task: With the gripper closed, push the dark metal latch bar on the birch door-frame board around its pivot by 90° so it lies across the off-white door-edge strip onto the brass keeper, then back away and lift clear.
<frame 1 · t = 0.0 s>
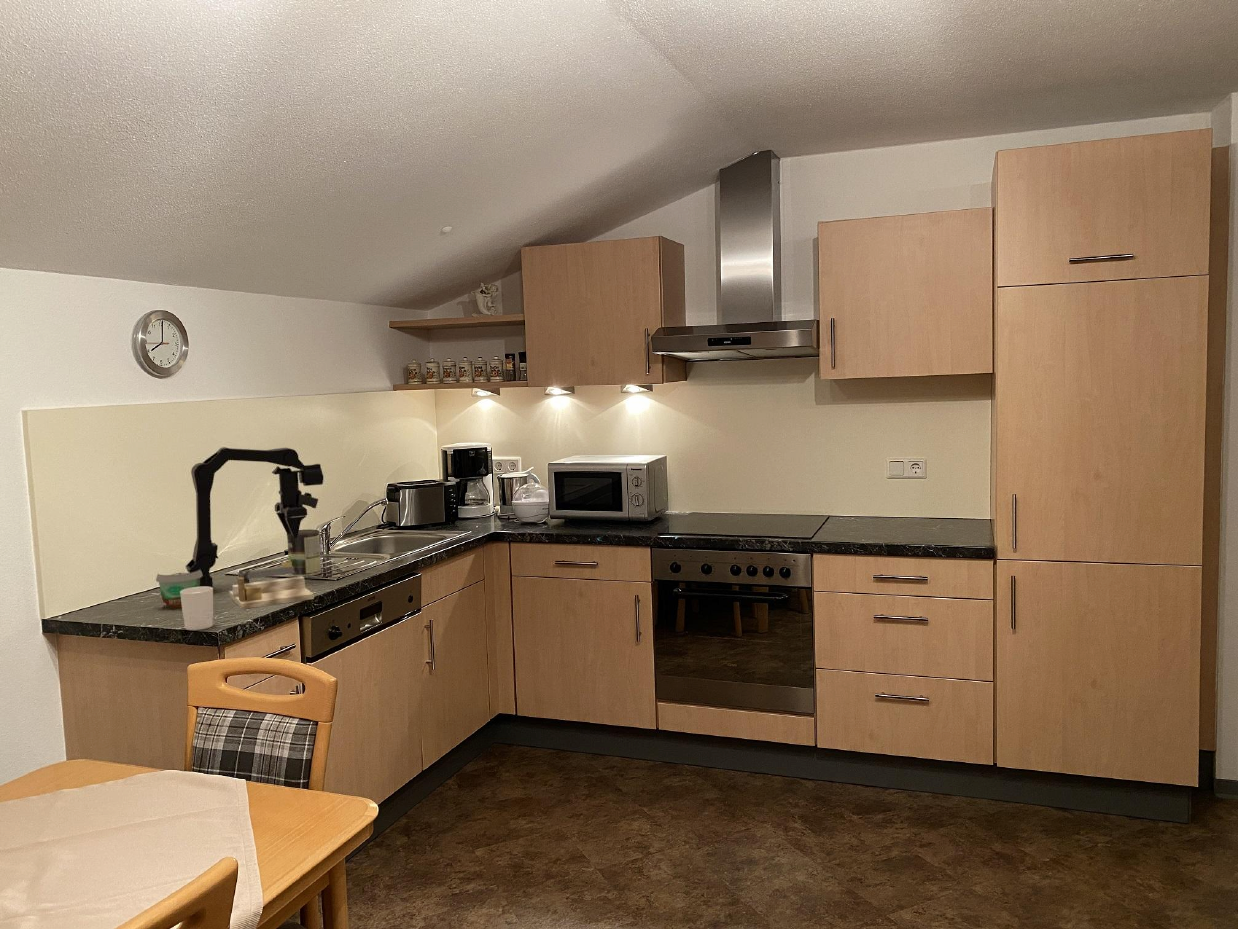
hand: (292, 535, 304), 15 cm above the table, tool pointing down, fingers open, 9 cm apart
white cup: (199, 628, 250), on the table
door frame: (271, 597, 283), on the table
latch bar: (266, 570, 287), point 7 cm above the table, hinge at 0.0°
food container: (181, 607, 274), on the table
coffee can: (305, 574, 317), on the table
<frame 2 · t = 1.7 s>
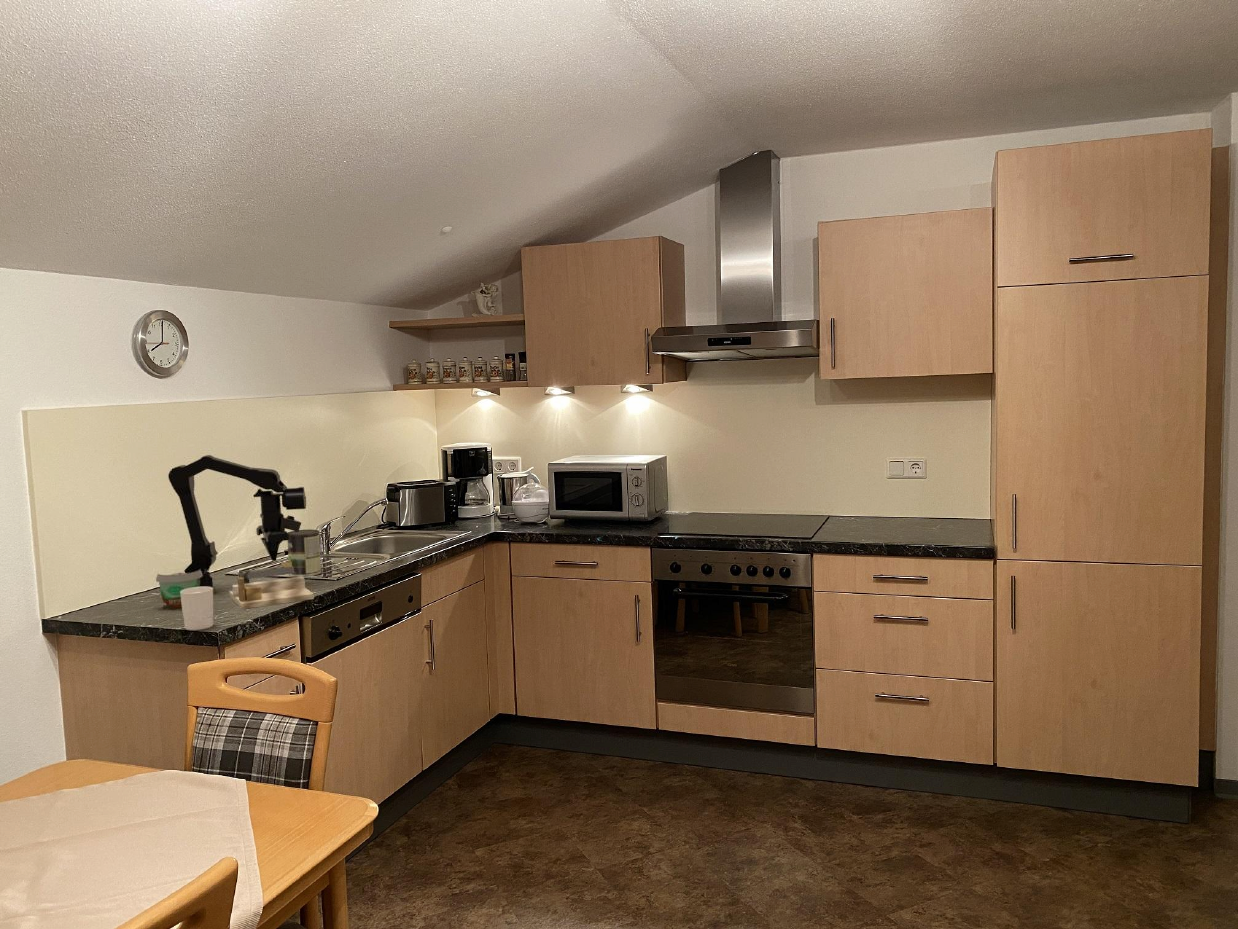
hand: (274, 560, 294), 9 cm above the table, tool pointing down, fingers closed
nothing on the table moved.
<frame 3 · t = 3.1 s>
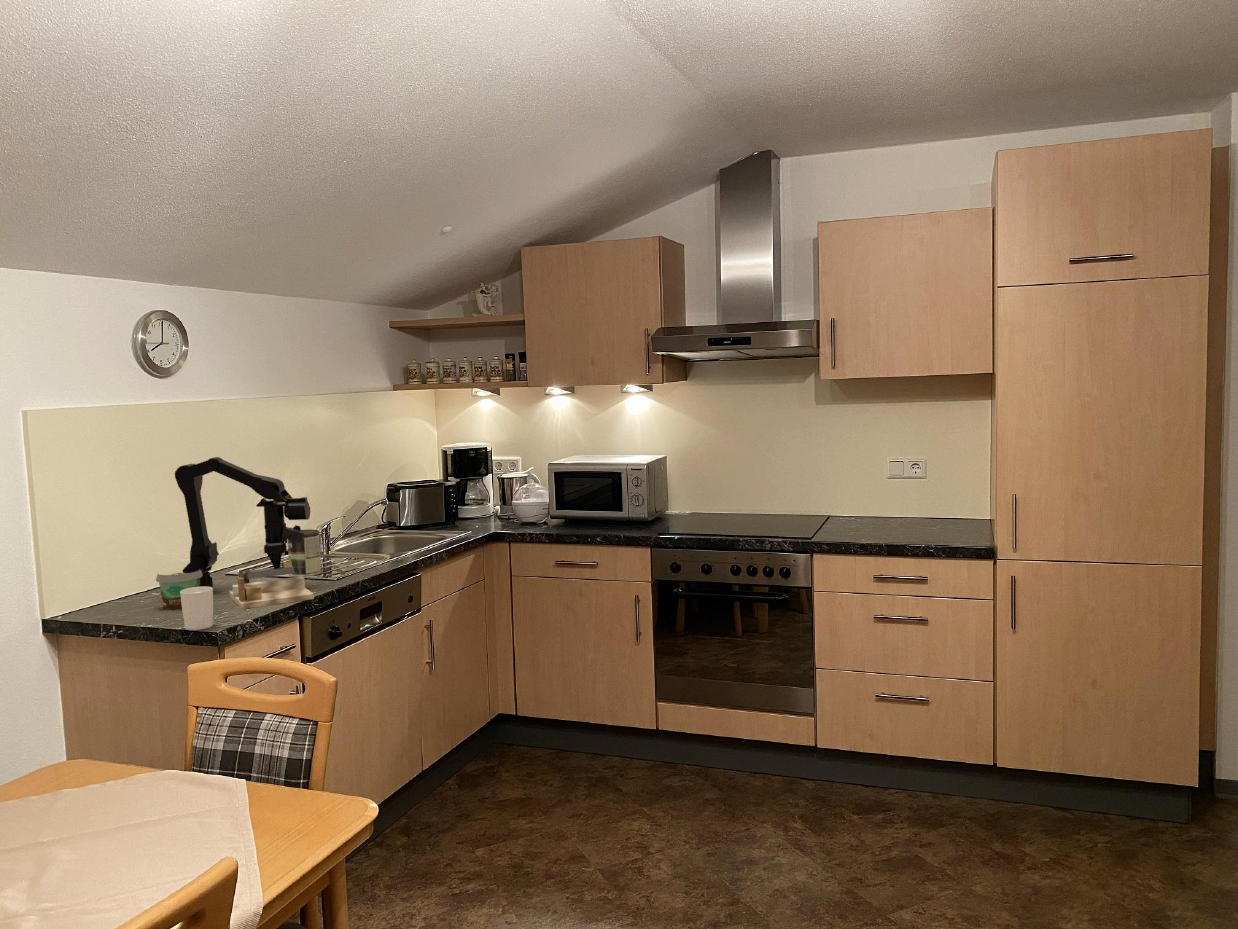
hand: (277, 570, 291), 6 cm above the table, tool pointing down, fingers closed
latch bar: (266, 570, 287), point 7 cm above the table, hinge at -0.4°, touching gripper
everything else where it was.
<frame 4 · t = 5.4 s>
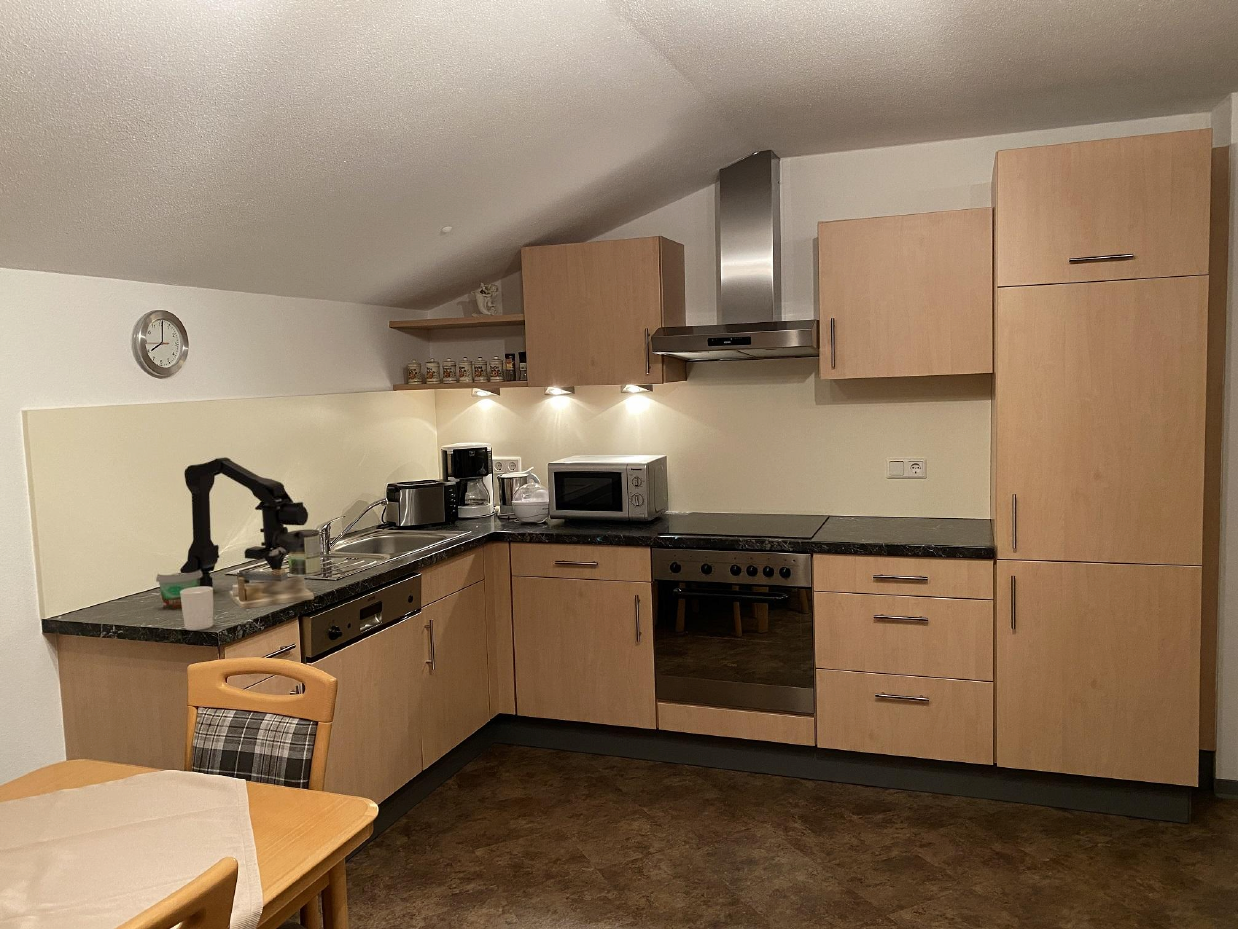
hand: (277, 576, 283), 6 cm above the table, tool pointing down, fingers closed
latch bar: (261, 574, 282), point 7 cm above the table, hinge at -49.2°, touching gripper
everything else where it was.
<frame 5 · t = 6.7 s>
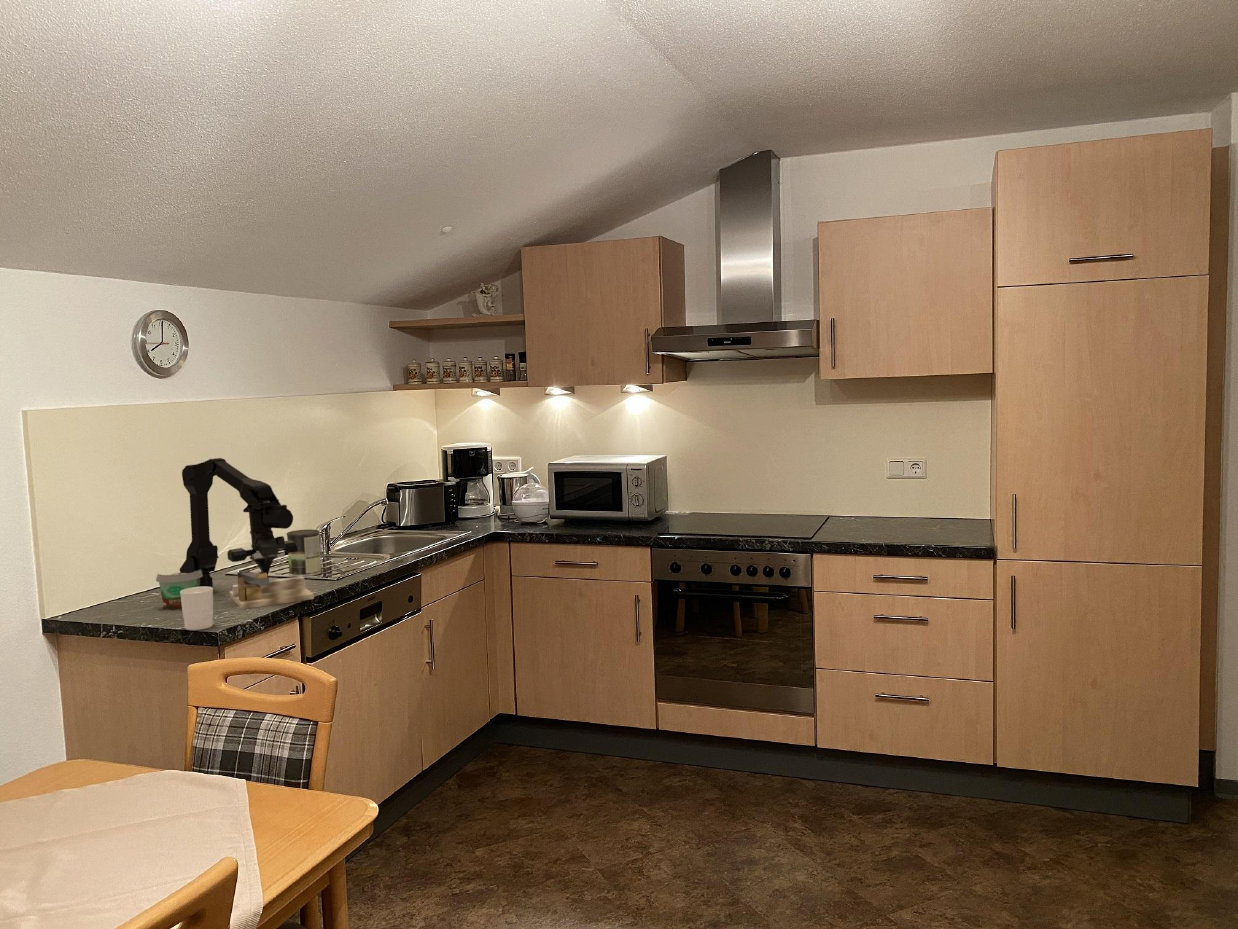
hand: (265, 579, 278), 6 cm above the table, tool pointing down, fingers closed
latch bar: (252, 576, 279), point 7 cm above the table, hinge at -78.2°, touching gripper
everything else where it was.
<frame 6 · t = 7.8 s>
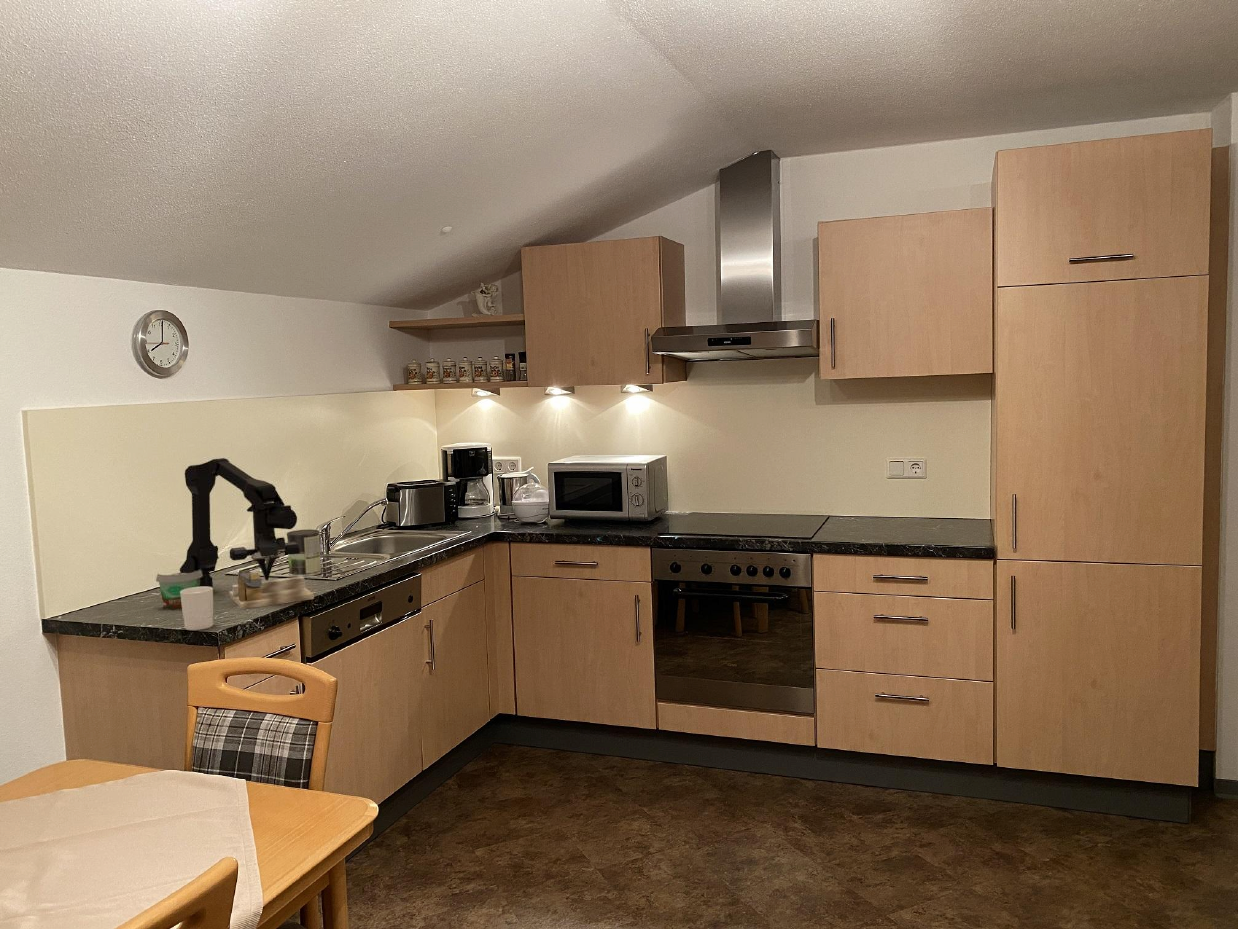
hand: (266, 580, 278), 6 cm above the table, tool pointing down, fingers closed
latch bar: (249, 576, 279), point 7 cm above the table, hinge at -87.4°
everything else where it was.
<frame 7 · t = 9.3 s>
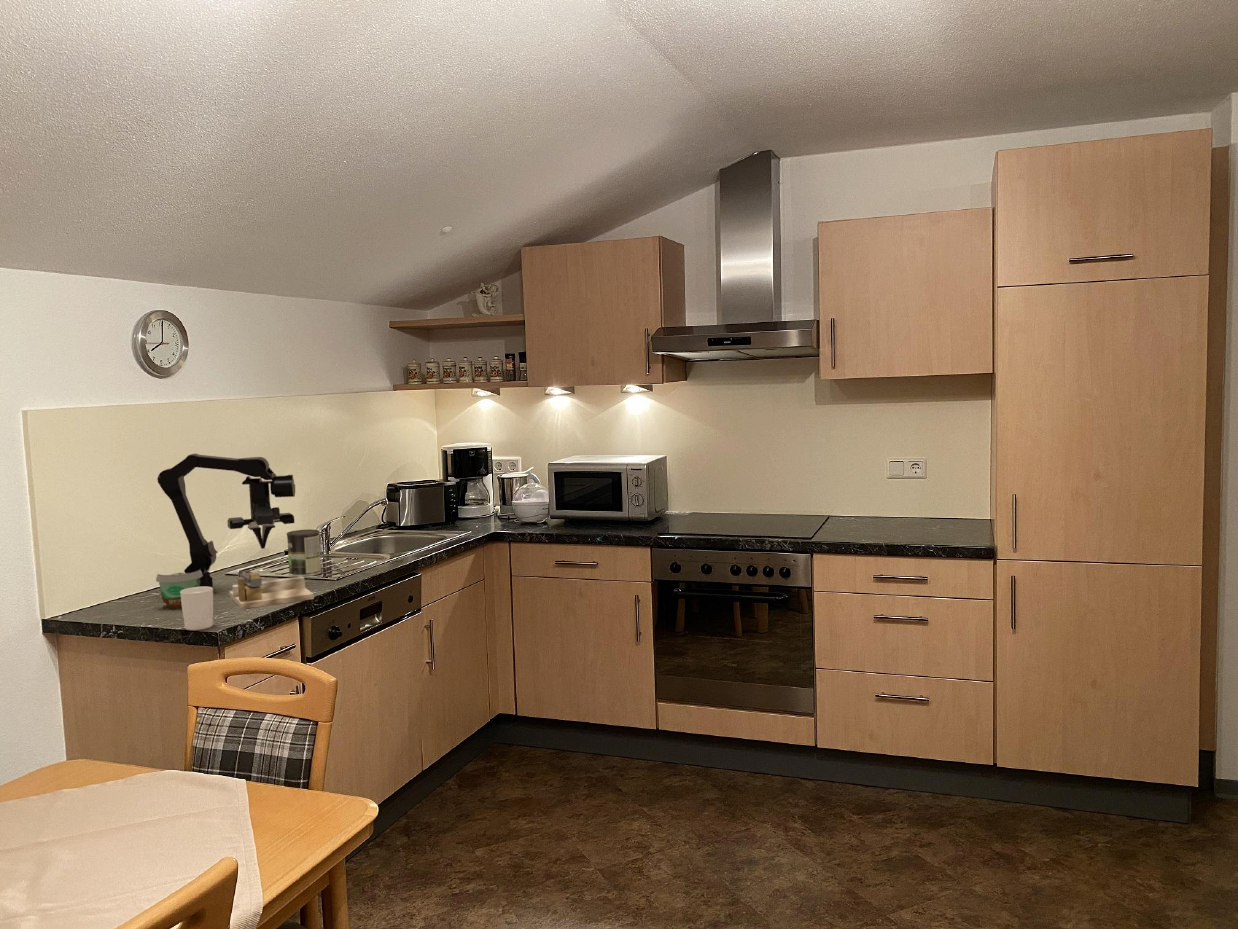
hand: (262, 548, 293), 13 cm above the table, tool pointing down, fingers closed
nothing on the table moved.
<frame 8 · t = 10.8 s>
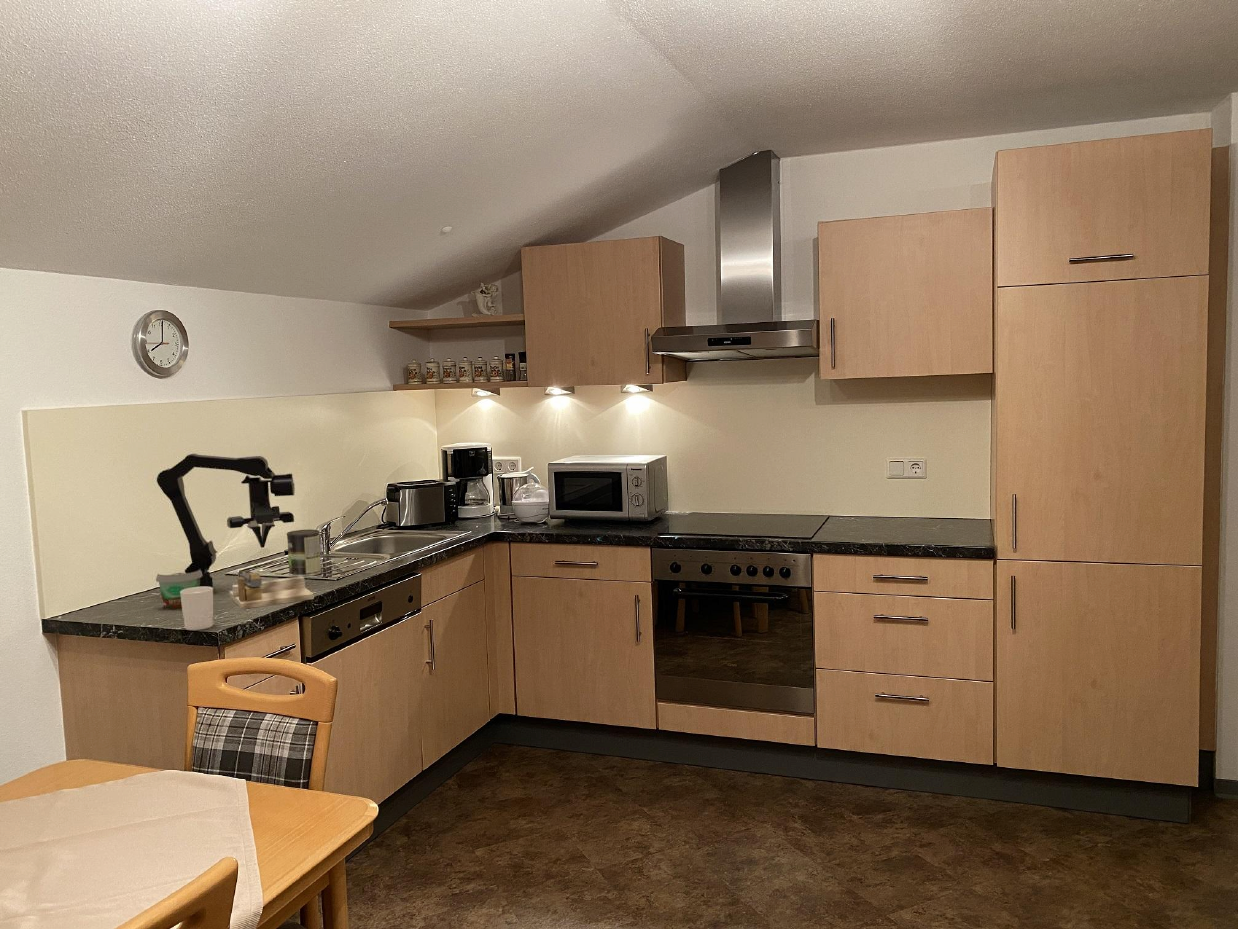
hand: (262, 547, 294), 13 cm above the table, tool pointing down, fingers closed
nothing on the table moved.
at the end: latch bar at -87° (first picture: +0°); food container moved 0.2 cm from its start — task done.
